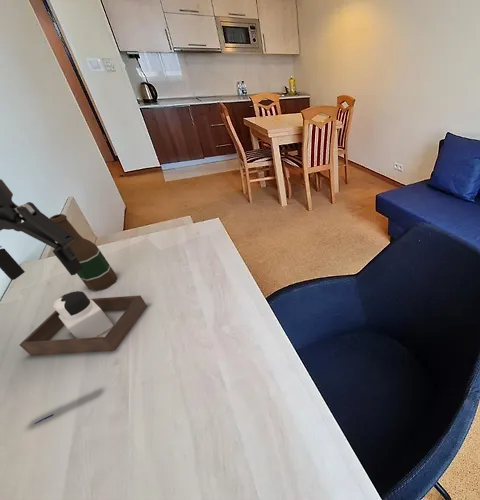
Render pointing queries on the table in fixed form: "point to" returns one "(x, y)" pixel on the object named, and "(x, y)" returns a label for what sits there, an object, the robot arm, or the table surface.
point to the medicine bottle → (82, 315)
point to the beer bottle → (88, 258)
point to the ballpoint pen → (43, 418)
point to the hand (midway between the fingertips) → (47, 273)
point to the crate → (43, 345)
